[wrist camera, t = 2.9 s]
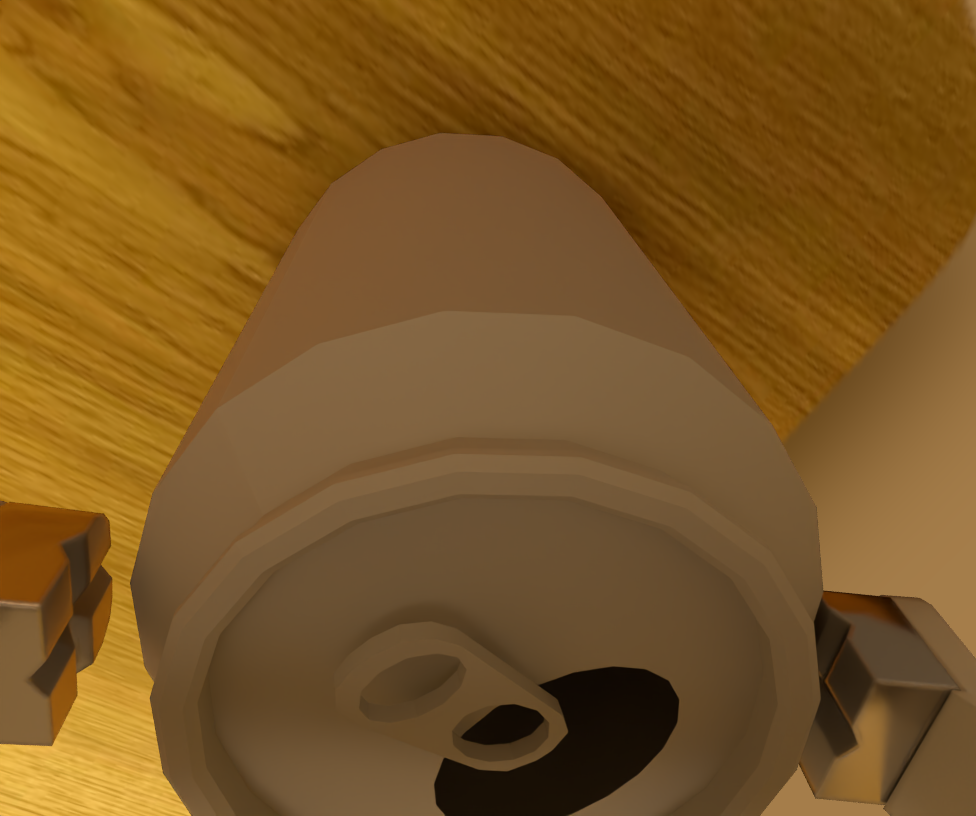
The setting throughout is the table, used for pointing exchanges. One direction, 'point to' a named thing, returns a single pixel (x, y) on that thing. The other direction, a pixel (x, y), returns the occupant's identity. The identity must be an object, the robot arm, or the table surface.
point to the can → (477, 525)
